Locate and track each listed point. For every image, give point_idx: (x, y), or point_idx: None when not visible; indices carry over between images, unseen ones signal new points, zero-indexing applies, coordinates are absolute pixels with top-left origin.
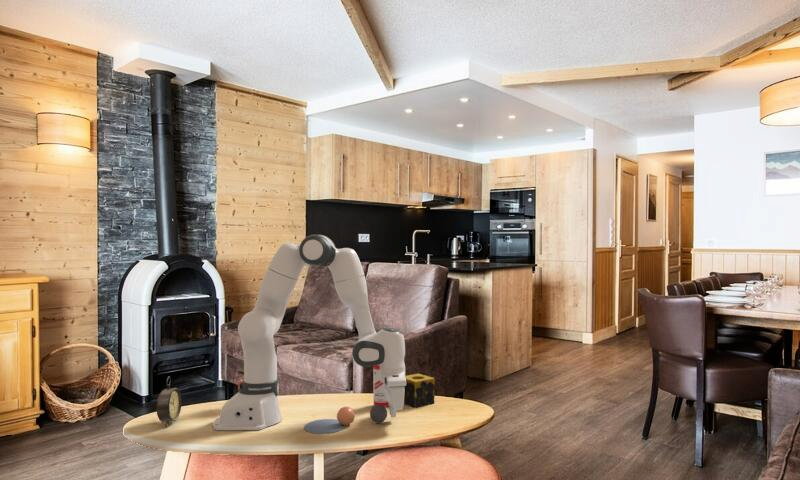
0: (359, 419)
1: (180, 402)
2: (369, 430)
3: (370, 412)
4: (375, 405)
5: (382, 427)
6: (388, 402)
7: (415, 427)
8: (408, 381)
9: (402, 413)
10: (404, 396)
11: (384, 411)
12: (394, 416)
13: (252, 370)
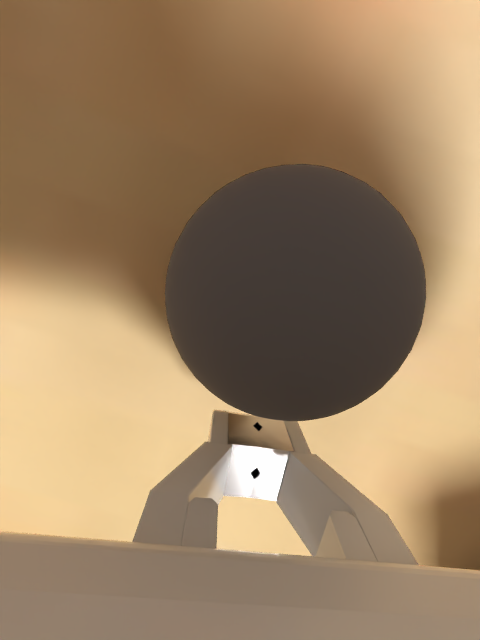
0: (439, 137)
1: None
2: (84, 127)
3: (300, 165)
4: (358, 262)
5: (135, 279)
6: (174, 576)
7: (67, 499)
8: None
9: (387, 508)
10: None
11: (190, 368)
12: (208, 439)
13: None
